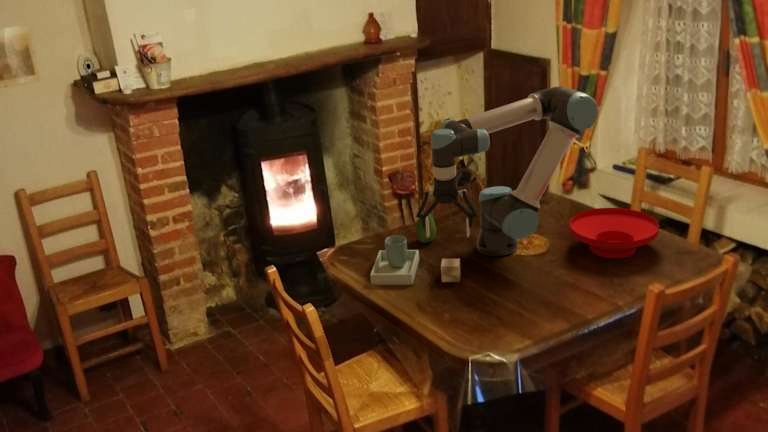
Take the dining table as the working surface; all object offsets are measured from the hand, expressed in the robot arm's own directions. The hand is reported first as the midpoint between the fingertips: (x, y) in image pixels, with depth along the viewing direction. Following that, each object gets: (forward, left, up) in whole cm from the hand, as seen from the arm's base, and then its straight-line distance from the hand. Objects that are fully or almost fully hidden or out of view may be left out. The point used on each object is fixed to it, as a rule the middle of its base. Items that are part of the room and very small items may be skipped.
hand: (448, 235), depth 276 cm
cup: (+20, -8, -15) cm, 26 cm away
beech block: (0, 0, -16) cm, 16 cm away
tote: (+20, -5, -16) cm, 26 cm away
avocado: (+12, -30, -16) cm, 36 cm away
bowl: (-56, -22, -16) cm, 62 cm away
